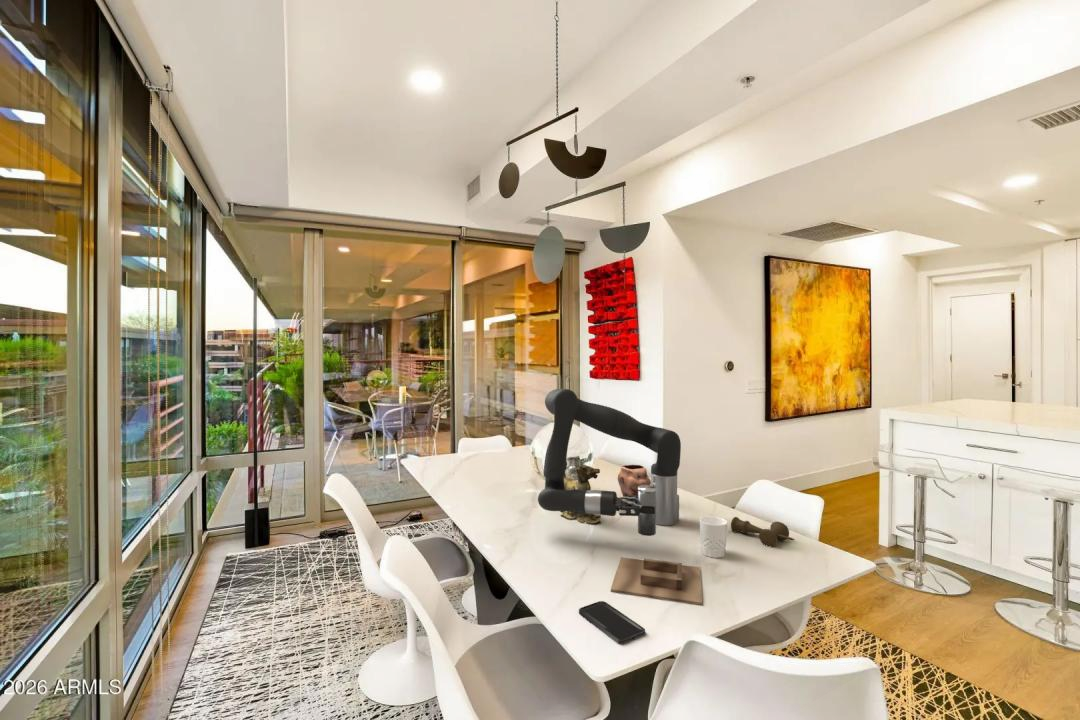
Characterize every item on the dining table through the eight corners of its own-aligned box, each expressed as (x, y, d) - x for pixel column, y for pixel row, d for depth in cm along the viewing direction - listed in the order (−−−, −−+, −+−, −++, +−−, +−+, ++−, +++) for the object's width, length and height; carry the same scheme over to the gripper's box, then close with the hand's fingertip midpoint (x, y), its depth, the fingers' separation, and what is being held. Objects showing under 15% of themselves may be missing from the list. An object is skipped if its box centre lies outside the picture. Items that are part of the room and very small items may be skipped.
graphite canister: (647, 527, 152) (647, 484, 151) (659, 533, 147) (659, 488, 146) (634, 531, 149) (634, 486, 149) (645, 537, 144) (645, 491, 144)
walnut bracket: (610, 591, 121) (610, 579, 121) (620, 559, 140) (620, 548, 140) (702, 605, 115) (702, 592, 115) (699, 569, 134) (699, 558, 134)
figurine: (582, 527, 165) (582, 469, 165) (544, 507, 187) (544, 456, 187) (611, 521, 172) (611, 465, 172) (571, 502, 194) (571, 452, 193)
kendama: (740, 529, 167) (801, 545, 152) (726, 536, 161) (788, 554, 145) (739, 511, 167) (800, 526, 152) (725, 518, 161) (787, 534, 145)
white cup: (726, 550, 147) (726, 517, 147) (727, 560, 140) (727, 526, 140) (699, 546, 150) (699, 515, 150) (699, 556, 142) (699, 523, 142)
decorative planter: (607, 494, 206) (608, 461, 205) (632, 491, 210) (632, 459, 210) (633, 508, 187) (633, 472, 187) (659, 504, 191) (659, 470, 191)
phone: (602, 600, 116) (647, 630, 103) (602, 604, 116) (647, 635, 103) (576, 609, 111) (619, 642, 99) (576, 614, 111) (619, 647, 99)
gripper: (596, 497, 145) (654, 502, 140) (604, 484, 159) (656, 488, 154) (596, 522, 145) (654, 527, 140) (604, 507, 159) (656, 511, 154)
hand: (655, 507), depth 147 cm, fingers closed on graphite canister, 5 cm apart
